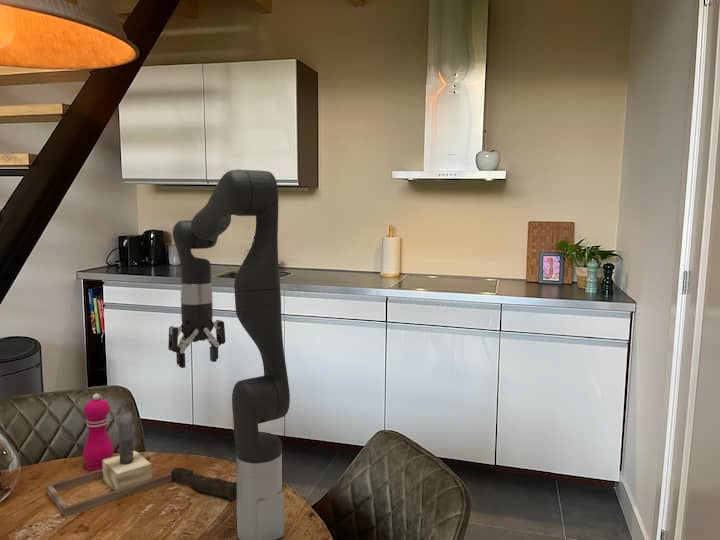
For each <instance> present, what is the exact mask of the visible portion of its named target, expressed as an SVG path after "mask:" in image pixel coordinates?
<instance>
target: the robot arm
mask: <svg viewBox="0 0 720 540" xmlns="http://www.w3.org/2000/svg"><path fill="white" fill-rule="evenodd" d="M232 216H237V217H255V232H254V237H253V242H252V243H251V246H250V249H249V250H248V253H247V254H246V256H245V258H244V260H243V262H242V263H241V265H240V267H239V269H238V270H237V274H236V276H235V278H234V279H235V280H234V285H233V286H234V288H233V289H234V302H235V303H234V305H235V314H236V316H237V317H236V318H238V321H239V323H240V324H241V326H242V328H243V329H244V330H245V332H246V333H247V334H248V336H249V337H250V338H251V340H252V341H253V343H254V344H255V345H256V347H257V349H258V351H259V353H260V355H261V361H262V367H263V375H261V376H257V377H255V376H254V377H251V378H245V379H241V380H239V381H236V383H235V384H234V387H233V389H232V393H231V407H232V418H233V419H232V421H233V438H234V443H235V451H236V452H235V455H236V457H235V458H236V482H237V498H236V525H237V527H236V529H237V530H236V532H237V533H236V534H237V538H238V539H239V540H278V539H280V538H282V537H284V536H285V493H284V492H283V491H282V490H283V487H282V485H283V483H282V482H283V479H282V477H283V474H282V473H283V471H282V470H283V469H282V468H283V466H282V464H283V463H282V462H283V461H282V460H283V458H282V455H283V454H282V451H283V450H282V448H283V446H282V445H283V443H282V440H281V438H280V437H278V436H277V435H275V434H273V433H270V432H268V431H267V432H266V431H259V424H262V423H263V424H264V423H267V422H271V421H276V420H279V419H283V418H284V417H285V416H286V415H287V414H288V412H289V409H290V405H291V404H290V402H291V394H290V393H291V392H290V386H289V385H290V384H289V378H288V370H287V364H286V356H285V347H284V339H283V337H284V336H283V324H282V323H283V322H282V321H283V320H282V296H281V295H282V294H281V283H280V271H279V251H278V250H279V249H278V246H279V245H278V237H279V236H278V233H279V189H278V182H277V179H276V177H275V176H274V173H272V171H271V172H270V171H267V170H258V169H257V170H254V169H253V170H252V169H251V170H250V169H232V170H228V171H227V172H225V173H224V174H223V175H222V177H221V178H220V180H219V181H218V182H217V184H216V186H215V188H214V190H213V191H212V193H211V196H210V197H209V199H208V201H207V203H206V204H205V205H204V207H202V208H201V209H200V210H199V211H198V212H196V214H195V215H194V216H193V218H192V219H189V220H187V219H186V220H179V221H177V222H176V223H175V224H174V226H173V229H172V238H173V242H174V246H175V248H176V251H177V254H178V259H179V261H180V268H181V270H180V271H181V287H180V312H181V314H180V315H181V326H173V325H171V326H169V328H168V346H167V347H168V350H169V351H171V352H173V353H176V354H175V355H176V364H177V366H178V368H180V369H185V368H186V353H185V351H186V349H187V348H188V347H189V346H190V345H191V344H192V343H196V342H200V341H201V342H204V341H207V342H208V344H209V345H210V346H209V360H210V362H212V363H215V362H217V360H219V347H220V346H221V345H223V344H225V343H226V331H225V330H226V329H225V322H224V321H223V320H219V319H217V320H215V321H214V320H213V318H214V315H213V313H214V311H213V307H214V306H213V289H212V288H213V287H212V266H211V262H210V260H208V259H207V258H202V257H195V256H194V255H193V253H192V250H198V249H199V250H200V249H201V250H203V249H204V250H205V249H211V248H213V247H214V246H216V244H217V242H218V239H219V236H220V235H222V234H223V233H224V232H225V231H226V230H227V229H228V228H229V226H230V225H231V223H232ZM213 329H214V330H215V335H216V337H215V336H214V334H213V333H212V331H213ZM181 333H182V336H181V337H180V339H179V336H180V334H181ZM178 339H179V340H178ZM178 341H179V342H178Z"/></svg>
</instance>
